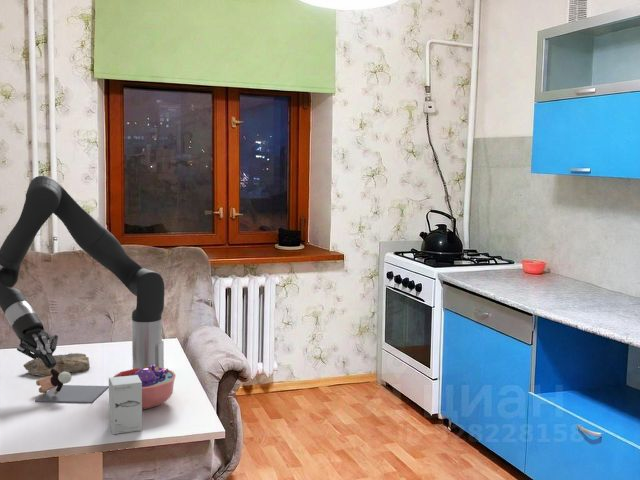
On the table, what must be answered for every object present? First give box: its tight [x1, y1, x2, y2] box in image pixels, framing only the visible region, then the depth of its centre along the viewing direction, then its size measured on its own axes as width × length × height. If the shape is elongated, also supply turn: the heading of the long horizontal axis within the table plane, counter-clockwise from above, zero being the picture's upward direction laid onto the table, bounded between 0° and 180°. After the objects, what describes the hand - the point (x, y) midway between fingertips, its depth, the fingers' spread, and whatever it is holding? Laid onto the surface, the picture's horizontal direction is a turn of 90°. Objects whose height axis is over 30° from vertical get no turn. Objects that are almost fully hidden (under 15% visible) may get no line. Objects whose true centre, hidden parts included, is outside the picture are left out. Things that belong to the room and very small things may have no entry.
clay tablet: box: [22, 352, 90, 377], centre depth 218 cm, size 14×5×20 cm
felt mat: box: [35, 384, 109, 404], centre depth 195 cm, size 16×14×1 cm
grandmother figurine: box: [35, 368, 72, 395], centre depth 192 cm, size 8×4×13 cm
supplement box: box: [108, 375, 143, 435], centre depth 169 cm, size 7×7×13 cm
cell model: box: [113, 365, 176, 410], centre depth 186 cm, size 17×20×11 cm
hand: (52, 366), depth 191 cm, fingers closed
